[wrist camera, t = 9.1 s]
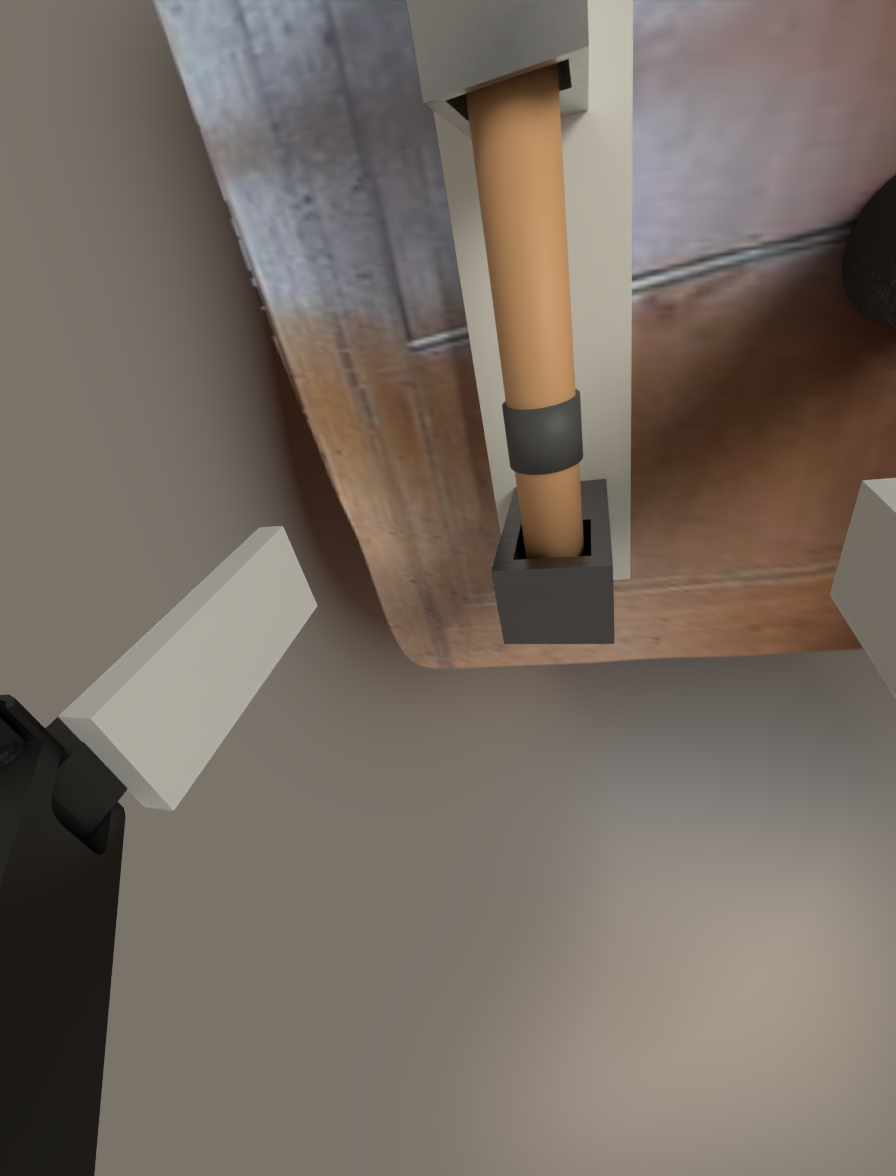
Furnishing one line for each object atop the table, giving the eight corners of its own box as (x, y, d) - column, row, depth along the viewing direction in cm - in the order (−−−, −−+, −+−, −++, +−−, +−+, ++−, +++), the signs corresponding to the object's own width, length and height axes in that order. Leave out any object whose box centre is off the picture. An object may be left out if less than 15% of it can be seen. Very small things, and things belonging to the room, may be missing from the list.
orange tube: (467, 82, 19) (445, 57, 16) (564, 49, 18) (559, 15, 15) (529, 568, 31) (523, 602, 28) (589, 565, 30) (589, 600, 27)
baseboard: (393, -194, 20) (380, -221, 19) (631, -324, 17) (635, -365, 16) (510, 573, 40) (508, 583, 39) (628, 567, 37) (630, 579, 36)
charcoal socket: (514, 487, 34) (491, 571, 26) (606, 478, 32) (612, 565, 24) (522, 549, 37) (504, 643, 28) (607, 545, 35) (614, 643, 27)
